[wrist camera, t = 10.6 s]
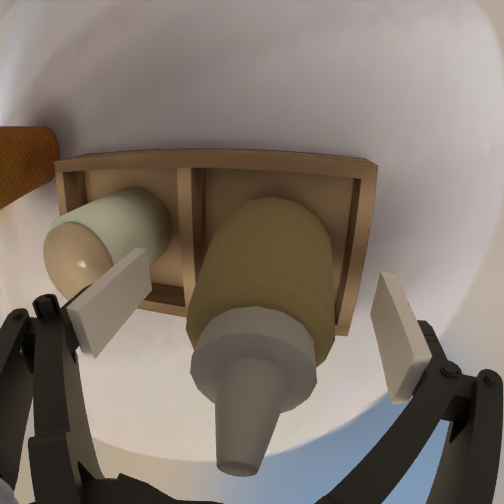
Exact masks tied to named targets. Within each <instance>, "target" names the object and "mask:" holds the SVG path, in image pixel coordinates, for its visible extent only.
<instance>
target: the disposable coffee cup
mask: <svg viewBox="0 0 504 504" xmlns="http://www.w3.org/2000/svg"><path fill="white" fill-rule="evenodd" d="M58 160H59V147H58V143H57V140H56V137H55V136H54V134H53V133H52V132H51V130H49V129H48V128H45V127H19V126H15V127H14V126H11V127H10V126H2V127H0V210H1V209H2V208H4V207H5V206H7V205H8V204H10V203H12V202H14V201H15V200H17V199H19V198H20V197H22V196H24V195H25V194H27V193H29V192H31V191H32V190H34V189H36V188H38V187H40V186H42V185H43V184H45V183H47V182H49V181H50V180H51V179H52V178H53V177H54V175H55V165H54V161H58Z"/></svg>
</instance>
